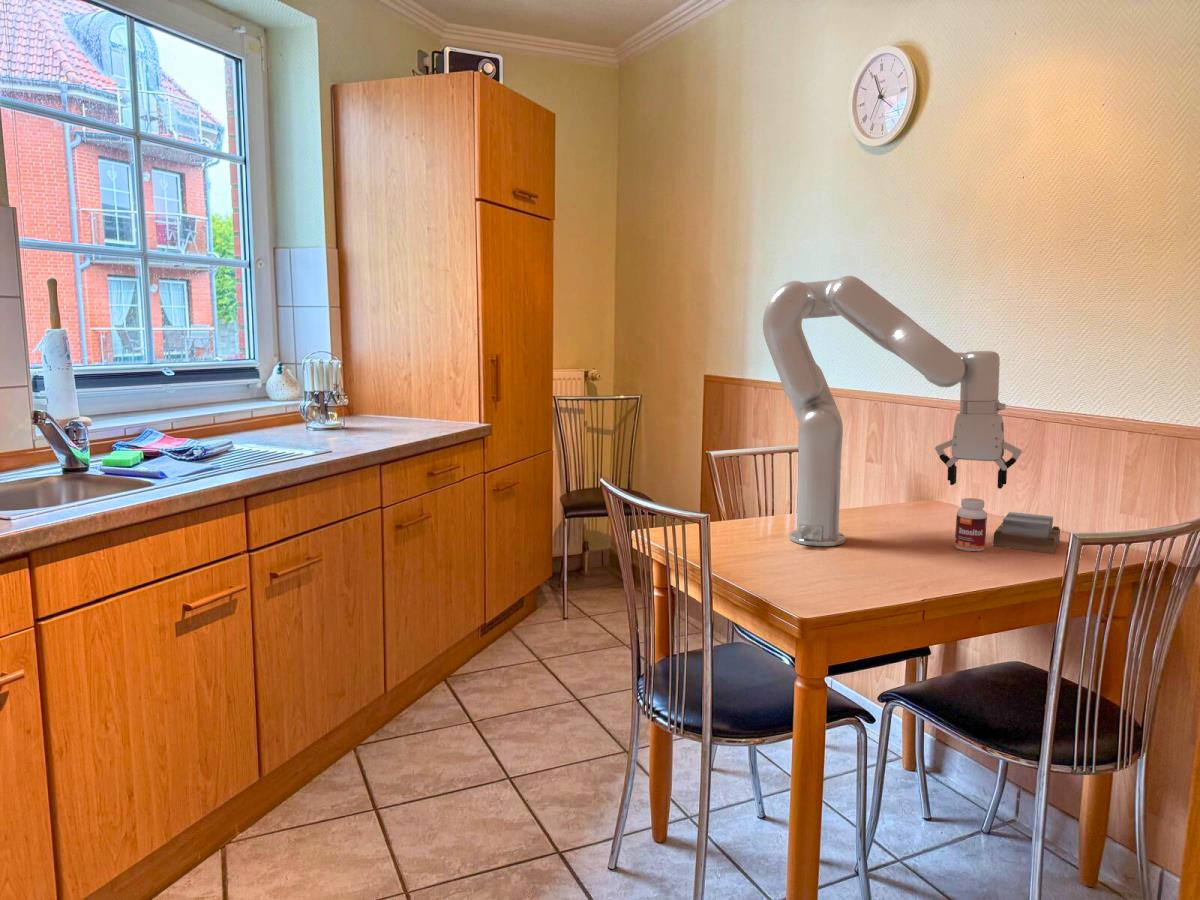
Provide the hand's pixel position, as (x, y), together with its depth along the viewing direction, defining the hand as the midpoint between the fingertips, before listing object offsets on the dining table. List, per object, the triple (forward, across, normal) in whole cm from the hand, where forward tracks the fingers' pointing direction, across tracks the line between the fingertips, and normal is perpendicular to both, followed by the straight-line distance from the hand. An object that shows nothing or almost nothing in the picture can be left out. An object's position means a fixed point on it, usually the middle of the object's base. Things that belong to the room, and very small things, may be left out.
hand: (976, 485), depth 180 cm
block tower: (+15, -9, -11) cm, 20 cm away
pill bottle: (+14, +1, 0) cm, 15 cm away
